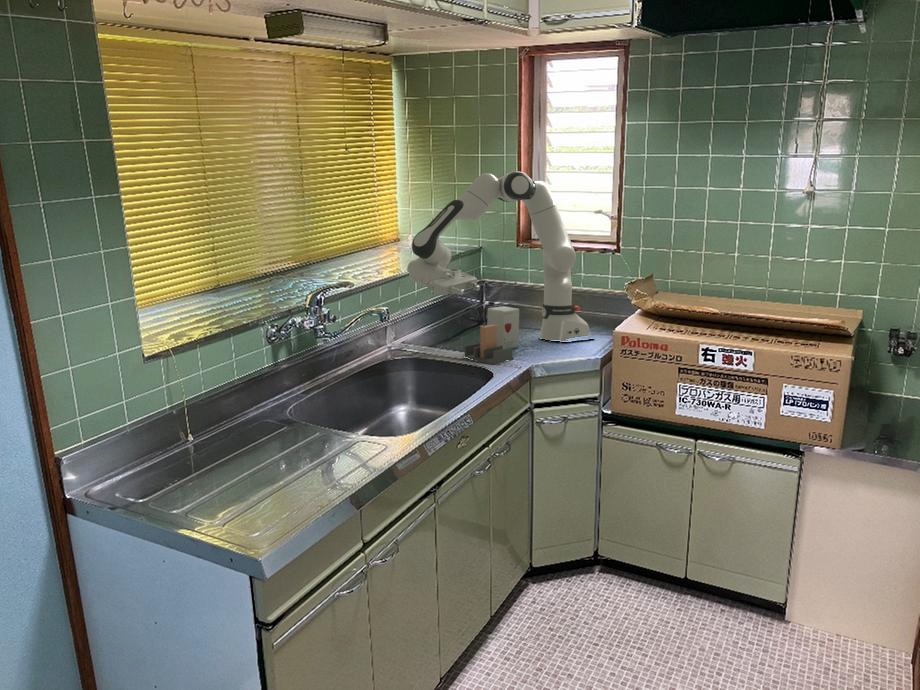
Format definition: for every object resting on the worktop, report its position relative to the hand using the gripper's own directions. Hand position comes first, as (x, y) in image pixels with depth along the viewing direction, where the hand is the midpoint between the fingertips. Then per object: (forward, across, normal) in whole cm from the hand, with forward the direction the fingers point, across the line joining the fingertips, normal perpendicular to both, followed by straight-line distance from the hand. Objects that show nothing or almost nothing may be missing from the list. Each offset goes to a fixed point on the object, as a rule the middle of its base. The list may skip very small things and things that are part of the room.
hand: (470, 290), depth 268 cm
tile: (+15, -4, +20) cm, 25 cm away
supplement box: (+7, +15, +24) cm, 29 cm away
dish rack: (+15, -5, +21) cm, 26 cm away
